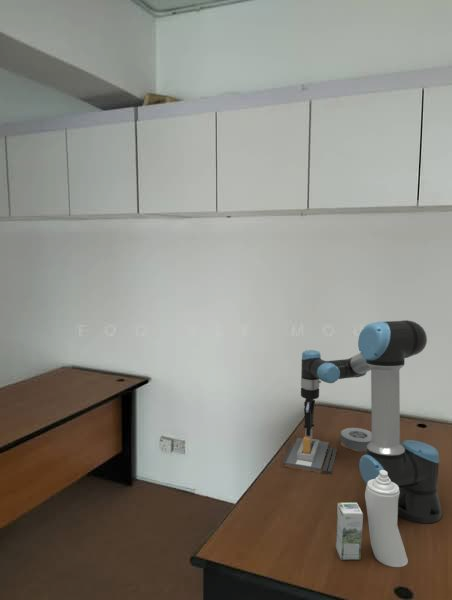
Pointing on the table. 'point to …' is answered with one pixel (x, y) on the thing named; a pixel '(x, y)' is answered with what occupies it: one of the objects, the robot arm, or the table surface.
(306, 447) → the breaker toggle
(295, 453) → the breaker panel
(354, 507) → the syrup box
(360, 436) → the tape roll
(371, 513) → the spray can
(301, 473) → the table surface
